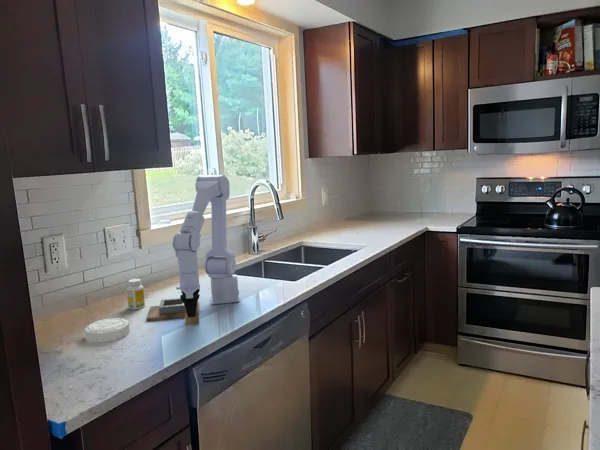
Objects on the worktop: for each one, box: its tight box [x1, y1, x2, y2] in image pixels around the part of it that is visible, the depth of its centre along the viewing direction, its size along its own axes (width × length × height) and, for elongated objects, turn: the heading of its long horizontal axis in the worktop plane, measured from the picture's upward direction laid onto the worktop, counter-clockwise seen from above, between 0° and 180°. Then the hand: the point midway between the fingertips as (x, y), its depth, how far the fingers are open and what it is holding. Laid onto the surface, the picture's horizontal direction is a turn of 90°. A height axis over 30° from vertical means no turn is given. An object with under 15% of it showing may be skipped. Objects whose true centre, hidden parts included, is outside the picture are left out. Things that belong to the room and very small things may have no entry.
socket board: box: [146, 297, 200, 322], centre depth 152 cm, size 16×12×4 cm
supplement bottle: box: [126, 278, 146, 310], centre depth 158 cm, size 5×5×10 cm
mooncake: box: [83, 317, 131, 344], centre depth 135 cm, size 12×12×4 cm
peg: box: [184, 301, 200, 326], centre depth 142 cm, size 4×4×8 cm
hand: (191, 314), depth 142 cm, fingers closed on peg, 4 cm apart
